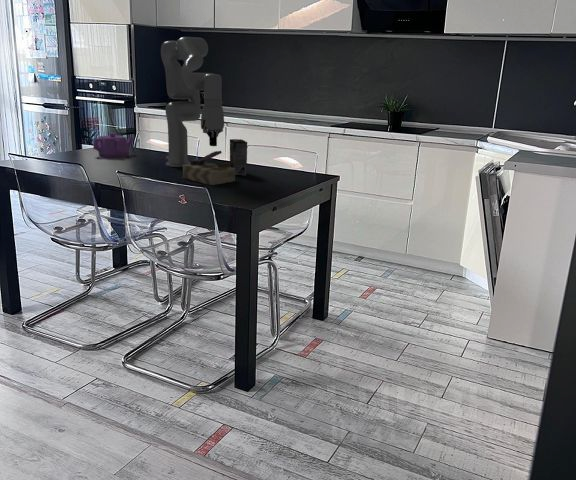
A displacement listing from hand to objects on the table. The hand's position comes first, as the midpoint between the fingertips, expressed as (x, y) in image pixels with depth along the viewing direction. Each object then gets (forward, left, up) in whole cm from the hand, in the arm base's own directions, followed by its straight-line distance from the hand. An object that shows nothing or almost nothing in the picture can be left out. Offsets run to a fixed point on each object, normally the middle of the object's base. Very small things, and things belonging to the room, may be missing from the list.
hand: (213, 145), depth 248 cm
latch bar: (-4, 0, -6) cm, 7 cm away
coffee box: (-5, +20, -16) cm, 26 cm away
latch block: (-3, 0, -16) cm, 16 cm away
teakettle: (-84, +1, -16) cm, 86 cm away
